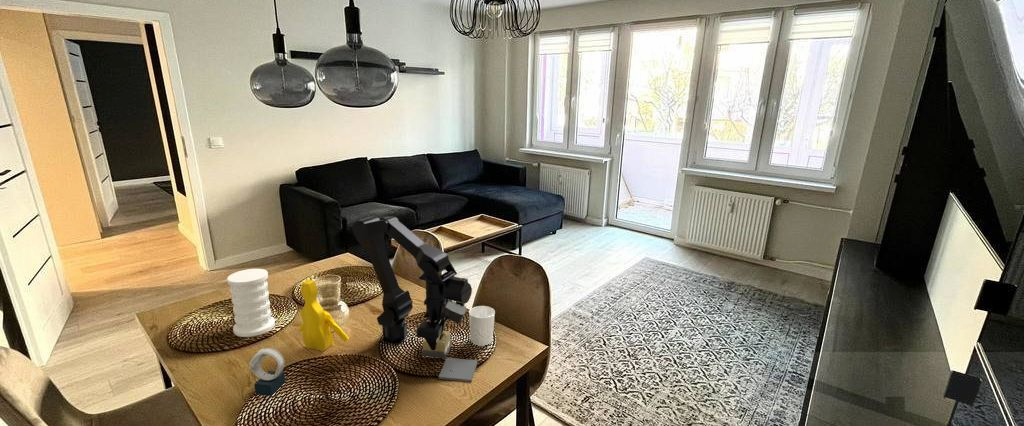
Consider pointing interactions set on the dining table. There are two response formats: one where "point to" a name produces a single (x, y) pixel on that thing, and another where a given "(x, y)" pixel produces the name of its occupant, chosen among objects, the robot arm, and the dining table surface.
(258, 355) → the white ring sculpture
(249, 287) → the decorative container
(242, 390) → the dining table surface
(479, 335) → the white cup
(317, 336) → the figure statuette
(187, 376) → the dining table surface
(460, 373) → the felt coaster
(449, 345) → the grey peg base
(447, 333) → the square hollow block
